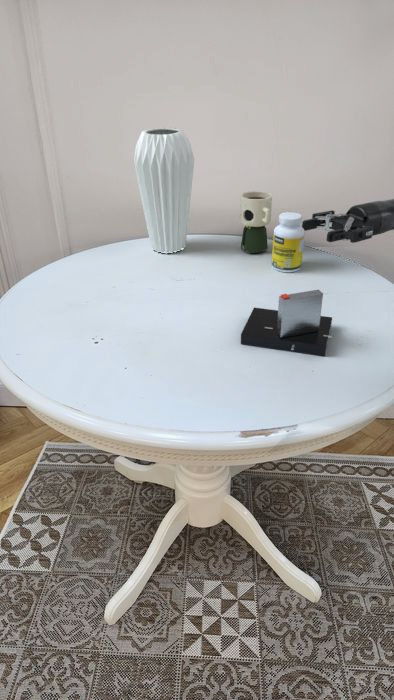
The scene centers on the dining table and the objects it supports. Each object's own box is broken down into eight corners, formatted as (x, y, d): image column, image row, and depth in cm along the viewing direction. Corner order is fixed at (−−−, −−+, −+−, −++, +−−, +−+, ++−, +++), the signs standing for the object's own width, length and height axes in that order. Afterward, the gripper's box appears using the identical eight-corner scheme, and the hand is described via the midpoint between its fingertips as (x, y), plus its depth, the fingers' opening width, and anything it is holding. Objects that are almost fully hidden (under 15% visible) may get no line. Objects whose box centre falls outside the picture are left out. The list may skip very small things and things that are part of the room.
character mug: (229, 245, 128) (230, 191, 121) (254, 240, 131) (257, 187, 124) (253, 261, 120) (255, 203, 113) (279, 255, 122) (283, 199, 115)
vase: (129, 250, 127) (118, 133, 113) (167, 234, 135) (161, 123, 121) (170, 263, 119) (163, 140, 105) (207, 246, 128) (206, 129, 114)
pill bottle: (265, 267, 117) (268, 215, 111) (284, 259, 120) (288, 208, 114) (288, 276, 113) (292, 222, 106) (307, 267, 116) (312, 215, 110)
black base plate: (334, 327, 94) (336, 316, 93) (326, 365, 84) (328, 354, 83) (253, 316, 98) (253, 306, 97) (236, 352, 88) (236, 340, 86)
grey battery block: (314, 326, 90) (318, 287, 86) (318, 331, 89) (323, 292, 85) (276, 333, 88) (279, 294, 85) (280, 338, 87) (283, 298, 83)
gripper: (352, 195, 125) (296, 206, 119) (397, 211, 115) (339, 223, 108) (347, 226, 129) (293, 238, 123) (391, 244, 119) (334, 258, 112)
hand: (315, 231), depth 116 cm, fingers open, 8 cm apart
